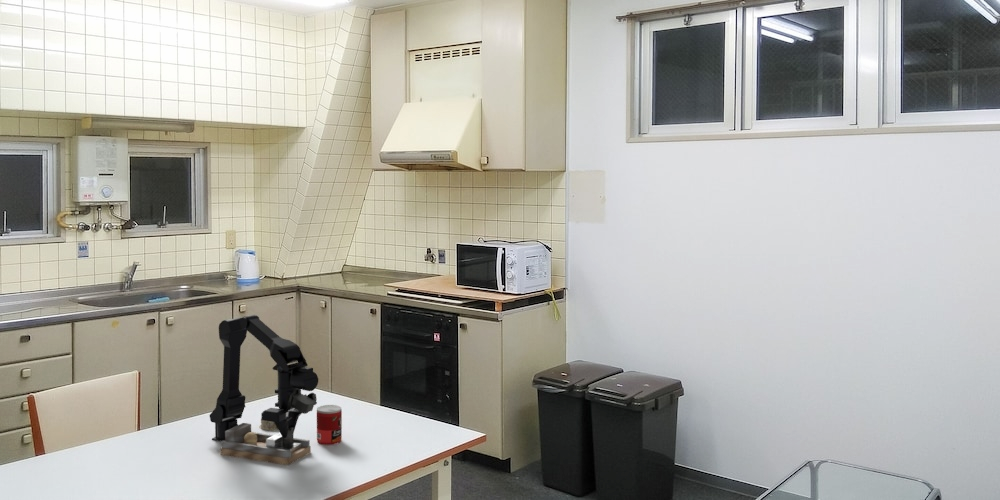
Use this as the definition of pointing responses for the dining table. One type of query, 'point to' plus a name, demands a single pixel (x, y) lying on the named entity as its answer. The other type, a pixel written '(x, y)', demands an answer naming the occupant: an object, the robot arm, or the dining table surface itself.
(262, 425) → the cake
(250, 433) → the tan rounded piece
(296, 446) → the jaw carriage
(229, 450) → the press base
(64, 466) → the dining table surface
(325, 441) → the canned food
